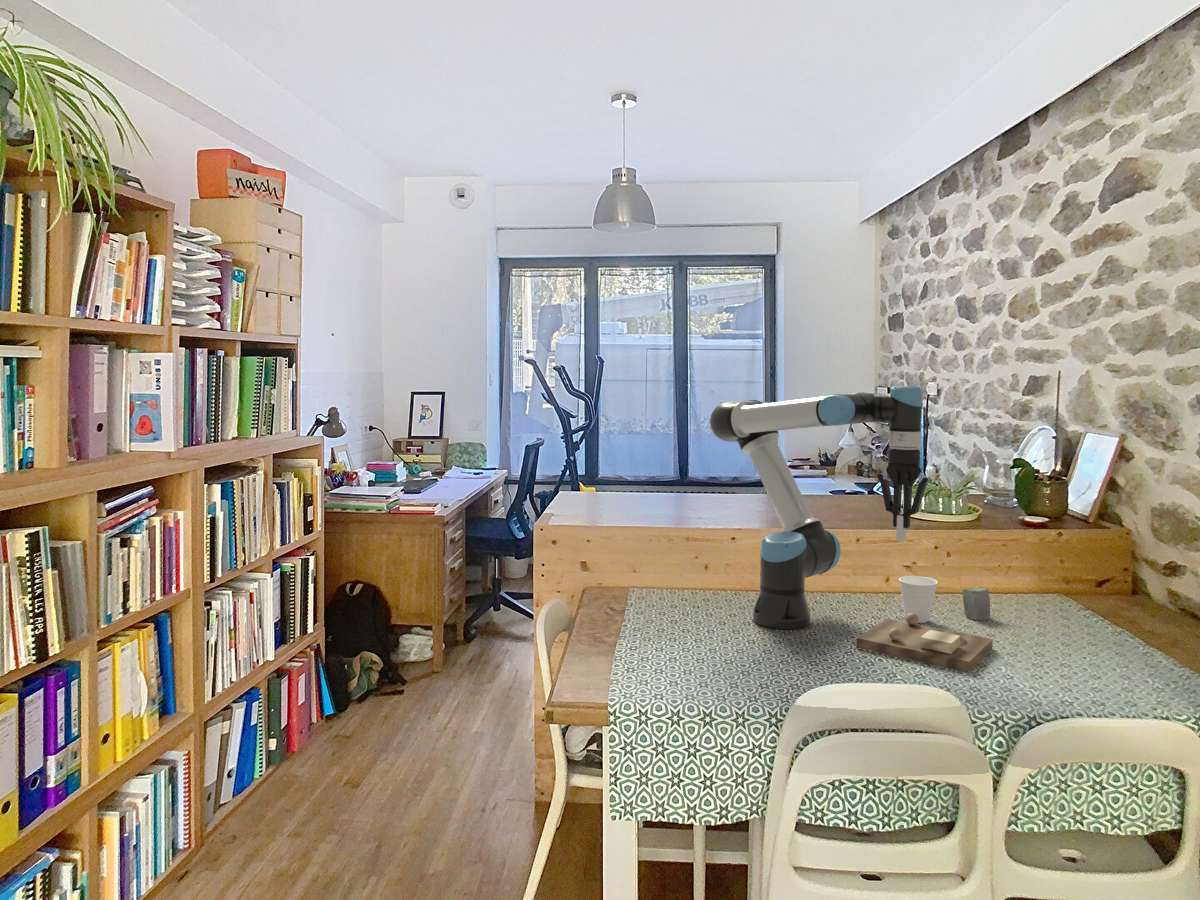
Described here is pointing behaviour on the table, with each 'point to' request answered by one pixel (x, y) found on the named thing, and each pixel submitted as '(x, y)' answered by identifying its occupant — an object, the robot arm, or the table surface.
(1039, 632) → the table surface
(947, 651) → the cover
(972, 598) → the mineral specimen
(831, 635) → the table surface
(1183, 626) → the table surface
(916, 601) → the cup
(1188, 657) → the table surface
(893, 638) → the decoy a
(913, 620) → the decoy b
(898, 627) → the board
